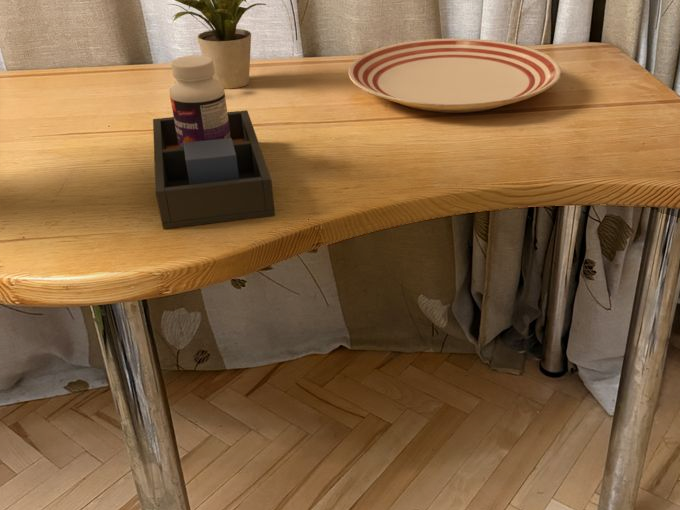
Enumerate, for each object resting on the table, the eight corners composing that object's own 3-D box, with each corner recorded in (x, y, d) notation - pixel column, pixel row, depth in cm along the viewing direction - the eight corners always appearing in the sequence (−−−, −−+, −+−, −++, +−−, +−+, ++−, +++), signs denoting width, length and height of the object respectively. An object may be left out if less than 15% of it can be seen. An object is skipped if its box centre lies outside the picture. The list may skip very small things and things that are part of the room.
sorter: (163, 229, 66) (155, 192, 64) (159, 151, 82) (152, 118, 79) (275, 215, 68) (271, 179, 66) (251, 141, 84) (247, 110, 81)
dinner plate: (509, 141, 83) (512, 112, 81) (308, 103, 94) (306, 77, 92) (585, 77, 102) (589, 52, 100) (411, 52, 113) (411, 29, 111)
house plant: (208, 62, 110) (190, -63, 100) (296, 69, 106) (285, -60, 97) (159, 91, 99) (133, -46, 89) (255, 99, 95) (239, -42, 86)
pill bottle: (170, 156, 78) (152, 61, 72) (212, 142, 81) (198, 50, 75) (201, 170, 75) (184, 71, 69) (243, 155, 78) (231, 59, 72)
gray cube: (193, 206, 69) (185, 160, 66) (191, 187, 72) (183, 142, 70) (242, 200, 70) (236, 154, 67) (237, 181, 73) (231, 137, 71)
